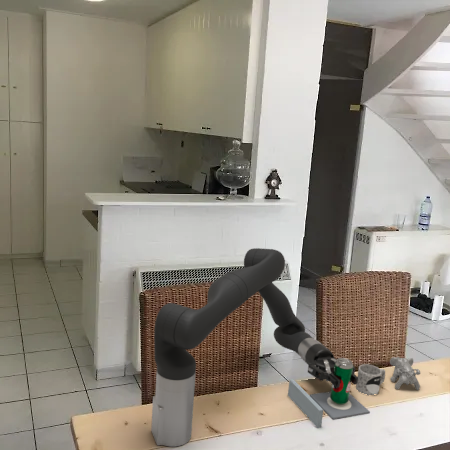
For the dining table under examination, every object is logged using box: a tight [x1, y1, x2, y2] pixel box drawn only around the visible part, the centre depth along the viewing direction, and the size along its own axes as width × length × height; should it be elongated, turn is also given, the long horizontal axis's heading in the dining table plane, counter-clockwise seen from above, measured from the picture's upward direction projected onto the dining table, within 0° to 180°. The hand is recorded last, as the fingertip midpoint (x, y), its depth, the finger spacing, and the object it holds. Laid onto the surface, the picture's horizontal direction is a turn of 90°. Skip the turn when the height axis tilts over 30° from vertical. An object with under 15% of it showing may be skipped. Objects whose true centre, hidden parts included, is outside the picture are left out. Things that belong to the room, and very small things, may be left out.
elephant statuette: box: [389, 356, 421, 391], centre depth 157 cm, size 9×12×8 cm
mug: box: [355, 363, 386, 396], centre depth 151 cm, size 10×7×7 cm, turn 120°
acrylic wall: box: [287, 378, 324, 429], centre depth 137 cm, size 1×16×5 cm, turn 21°
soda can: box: [330, 357, 354, 404], centre depth 141 cm, size 5×5×12 cm
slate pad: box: [309, 390, 371, 421], centre depth 142 cm, size 12×12×1 cm
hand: (347, 382), depth 138 cm, fingers open, 5 cm apart
